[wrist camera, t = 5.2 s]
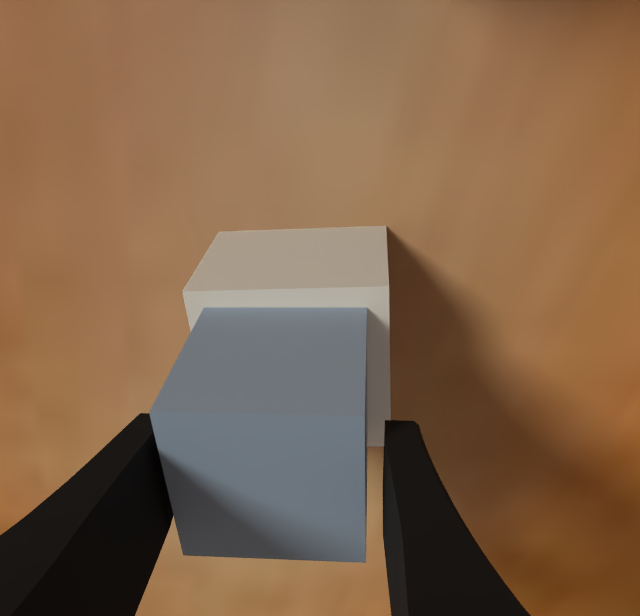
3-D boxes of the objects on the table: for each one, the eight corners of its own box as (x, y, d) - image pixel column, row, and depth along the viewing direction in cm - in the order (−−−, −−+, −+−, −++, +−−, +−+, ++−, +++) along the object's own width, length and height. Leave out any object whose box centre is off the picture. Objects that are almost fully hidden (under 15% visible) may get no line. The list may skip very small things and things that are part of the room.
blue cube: (366, 307, 14) (364, 416, 10) (367, 435, 16) (365, 562, 12) (203, 307, 14) (149, 412, 11) (224, 432, 16) (183, 555, 13)
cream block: (386, 223, 17) (389, 286, 14) (388, 362, 19) (391, 446, 16) (220, 229, 18) (182, 291, 14) (242, 364, 20) (214, 445, 17)
